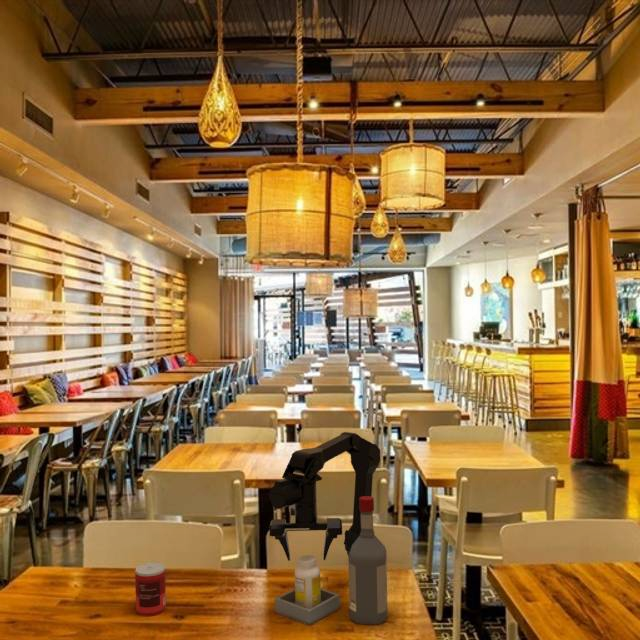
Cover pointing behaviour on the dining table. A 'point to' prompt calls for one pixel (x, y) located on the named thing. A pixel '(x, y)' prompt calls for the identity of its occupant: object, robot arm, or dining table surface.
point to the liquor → (367, 571)
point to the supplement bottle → (307, 582)
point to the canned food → (150, 589)
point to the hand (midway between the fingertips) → (306, 559)
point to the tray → (308, 616)
